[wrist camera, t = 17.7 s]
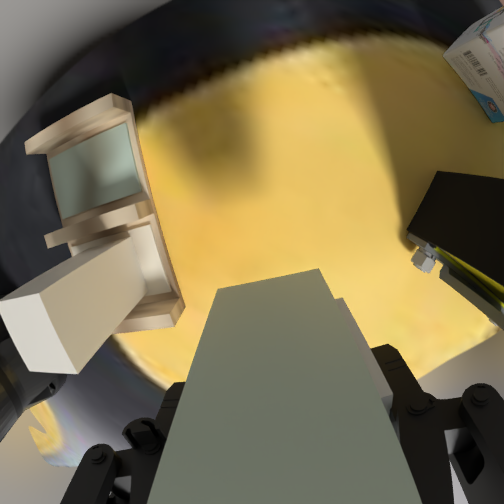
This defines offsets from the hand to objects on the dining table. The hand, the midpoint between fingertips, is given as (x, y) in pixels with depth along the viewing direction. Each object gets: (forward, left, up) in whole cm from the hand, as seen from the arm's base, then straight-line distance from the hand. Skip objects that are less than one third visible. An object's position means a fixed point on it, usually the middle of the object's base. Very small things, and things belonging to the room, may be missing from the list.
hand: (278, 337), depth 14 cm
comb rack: (-14, +7, -11) cm, 19 cm away
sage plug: (0, 0, -1) cm, 1 cm away
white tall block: (-14, +2, -10) cm, 17 cm away
